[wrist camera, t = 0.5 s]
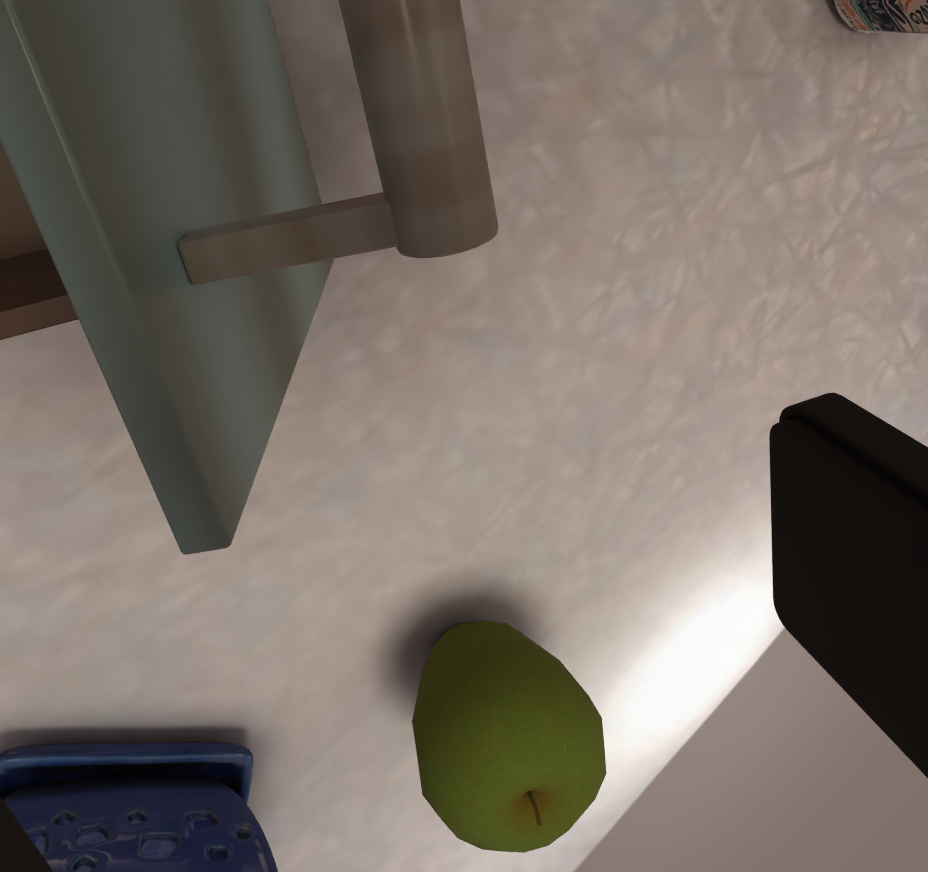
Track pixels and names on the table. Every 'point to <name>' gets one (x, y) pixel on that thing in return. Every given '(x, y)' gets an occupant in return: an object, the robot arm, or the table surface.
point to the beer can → (885, 15)
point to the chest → (26, 266)
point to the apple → (505, 739)
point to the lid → (222, 205)
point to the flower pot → (137, 806)
